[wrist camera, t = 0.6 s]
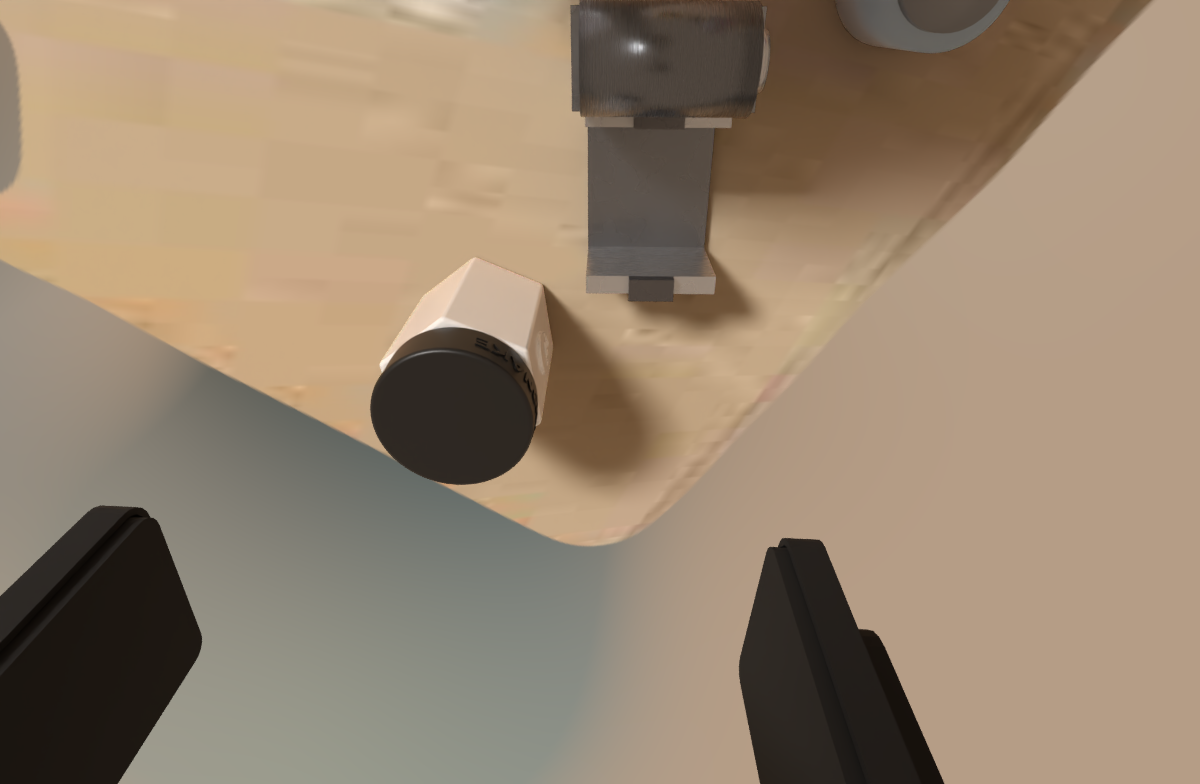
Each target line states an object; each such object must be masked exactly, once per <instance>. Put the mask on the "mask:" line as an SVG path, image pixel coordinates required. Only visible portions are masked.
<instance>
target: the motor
mask: <svg viewBox="0 0 1200 784" xmlns="http://www.w3.org/2000/svg"><path fill="white" fill-rule="evenodd" d="M766 11H767V6H762V5H761V3H760V1H731V0H580V5H571V66H572V111H580V114H581V117H585V127H588V258H587V271H586V293H628V301H666V302H673V294H714V292H715V283H716V275H715V273H714V271H713V268H712V266H711V263H710V261H709V258H708V256H707V253H706V251H705V249H704V243H705V232H706V221H707V209H708V198H709V187H710V176H711V165H712V154H713V143H714V131H715V128H731V126H732V118H748V117H749V115H750V114H751V113H755V105H756V96H757V93H761V92H762V90H763V88H764V86H765V82H766V78H767V74H768V68H769V60H770V34H769V31H768V29H764V28H765V20H766Z"/></svg>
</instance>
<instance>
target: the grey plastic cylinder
mask: <svg viewBox="0 0 1200 784" xmlns="http://www.w3.org/2000/svg"><path fill="white" fill-rule="evenodd" d="M835 2H836V8H837V12H838V15H839V17H840V20H841V22H842V23H843V25H844V27H845V28H846V29H847V31H848V32H849V33H850V34H851V35H852V36H853V37H854V38H856V39H857V40H859V41H860V42H863V43H865V44H867V45H871V46H876V47H883V48H891V49H898V50H906V51H913V52H921V53H941V52H946V51H950V50H953V49H956V48H959V47H961V46H963V45H965V44H967V43H969V42H970V41H972V40H973V39H975V38H976V37H978V36H979V35H980V34H981V33H983V32H984V31H985V30H986V29H987V28H988V27H989V26H990V25H991V24H992V23H993V22H994V21H995V20H996V19H997V18H998V16H999V15H1000V14H1001V12H1002V11H1003V10H1004V8H1005V7H1006V5H1007V4H1008V2H1009V0H835Z"/></svg>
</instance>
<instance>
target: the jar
mask: <svg viewBox="0 0 1200 784" xmlns="http://www.w3.org/2000/svg"><path fill="white" fill-rule="evenodd" d="M552 352H553V342H552V336H551V330H550V324H549V318H548V312H547V306H546V300H545V294H544V288H543V285H542V284H541V283H538V282H536V281H533V280H531V279H528V278H526V277H523V276H521V275H519V274H516V273H514V272H511V271H509V270H506V269H504V268H501V267H499V266H497V265H494V264H492V263H489V262H487V261H484V260H482V259H479V258H477V257H474V258H472V259H471V260H469V261H468V262H467V263H465V264H464V265H463V266H462V267H460V268H459V269H458V270H456V271H455V272H454V273H452V274H451V275H450V276H449V277H447V278H446V279H445V280H443V281H442V282H441V283H439V284H438V285H437V286H436V287H434V288H433V289H432V290H430V291H429V292H428V293H426V294H425V295H424V296H423V297H422V298H421V300H420V301H419V303H418V305H417V306H416V308H415V309H414V311H413V312H412V314H411V315H410V317H409V319H408V320H407V322H406V323H405V325H404V326H403V328H402V329H401V331H400V333H399V334H398V336H397V337H396V339H395V340H394V342H393V343H392V345H391V347H390V348H389V350H388V351H387V353H386V354H385V356H384V357H383V359H382V361H381V362H380V368H381V372H382V374H381V376H380V377H379V379H378V380H377V382H376V384H375V387H374V389H373V393H372V397H371V405H370V411H371V419H372V423H373V427H374V430H375V432H376V434H377V436H378V438H379V440H380V442H381V443H382V445H383V446H384V448H385V449H386V450H387V451H388V453H389V454H390V455H391V456H392V457H393V458H394V459H395V460H397V461H398V462H399V463H400V464H401V465H403V466H404V467H405V468H407V469H409V470H410V471H412V472H414V473H416V474H418V475H420V476H422V477H424V478H427V479H430V480H433V481H437V482H441V483H446V484H456V485H466V484H476V483H481V482H485V481H488V480H491V479H494V478H496V477H499V476H501V475H502V474H504V473H506V472H507V471H509V470H510V469H511V468H513V467H514V466H515V465H516V464H517V463H518V462H519V461H520V460H521V458H522V457H523V456H524V454H525V453H526V451H527V449H528V447H529V445H530V443H531V440H532V437H533V433H534V430H535V428H536V426H538V425H539V424H540V423H541V421H542V415H543V409H544V403H545V396H546V390H547V384H548V378H549V371H550V365H551V359H552Z"/></svg>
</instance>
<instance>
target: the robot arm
mask: <svg viewBox="0 0 1200 784" xmlns="http://www.w3.org/2000/svg"><path fill="white" fill-rule="evenodd" d="M201 645H202V636H201V632H200V629H199V627H198V624H197V622H196V619H195V616H194V614H193V611H192V609H191V606H190V604H189V601H188V598H187V596H186V593H185V590H184V588H183V585H182V583H181V580H180V577H179V575H178V572H177V569H176V567H175V565H174V562H173V559H172V556H171V554H170V551H169V549H168V546H167V544H166V541H165V538H164V536H163V533H162V531H161V528H160V525H159V524H158V522H157V520H155V519H154V518H150V516H149V514H148V513H147V511H146V510H144V509H143V508H138V507H119V506H98V507H95V508H93V509H91V510H90V511H89V512H87V513H86V514H85V515H84V516H83V517H82V518H81V519H80V520H79V521H78V522H77V523H76V524H75V525H74V526H73V527H72V528H71V529H70V530H69V531H68V532H66V533H65V534H64V535H63V536H62V537H61V538H60V539H59V540H58V541H57V542H56V543H55V544H54V545H53V546H52V547H51V548H50V549H49V550H48V551H47V552H46V553H45V554H44V555H43V556H42V557H41V558H40V559H38V560H37V561H36V562H35V563H34V564H33V565H32V566H31V567H30V568H29V569H28V570H27V571H26V572H25V573H24V574H23V575H22V576H21V577H20V578H19V579H18V580H17V581H16V582H15V583H14V584H13V585H12V586H10V587H9V588H8V589H7V590H6V591H5V592H4V593H3V594H2V595H1V596H0V784H118V782H119V781H120V779H121V778H122V776H123V774H124V773H125V771H126V770H127V768H128V767H129V765H130V764H131V762H132V760H133V759H134V757H135V756H136V754H137V753H138V751H139V749H140V748H141V746H142V745H143V743H144V741H145V740H146V738H147V737H148V735H149V733H150V732H151V730H152V729H153V727H154V726H155V724H156V722H157V721H158V719H159V718H160V716H161V715H162V713H163V712H164V710H165V708H166V707H167V705H168V704H169V702H170V700H171V699H172V697H173V696H174V694H175V693H176V691H177V689H178V688H179V686H180V685H181V683H182V681H183V680H184V678H185V677H186V675H187V674H188V672H189V670H190V669H191V667H192V666H193V664H194V663H195V661H196V659H197V657H198V655H199V653H200V650H201ZM739 677H740V684H741V689H742V694H743V699H744V704H745V709H746V715H747V719H748V725H749V730H750V735H751V740H752V745H753V750H754V755H755V760H756V765H757V770H758V775H759V780H760V784H944V782H943V779H942V777H941V775H940V773H939V770H938V768H937V766H936V763H935V761H934V759H933V757H932V754H931V752H930V750H929V747H928V745H927V743H926V741H925V738H924V736H923V734H922V731H921V729H920V727H919V725H918V722H917V720H916V718H915V715H914V713H913V711H912V708H911V706H910V704H909V702H908V699H907V697H906V695H905V693H904V690H903V688H902V686H901V683H900V681H899V679H898V676H897V674H896V672H895V670H894V667H893V665H892V663H891V660H890V658H889V656H888V654H887V651H886V649H885V647H884V645H883V643H882V641H881V640H880V638H879V636H877V634H875V633H874V631H871V630H863V629H858V627H857V625H856V622H855V620H854V617H853V615H852V613H851V610H850V607H849V605H848V602H847V600H846V598H845V595H844V593H843V590H842V588H841V585H840V583H839V581H838V578H837V576H836V573H835V571H834V568H833V566H832V563H831V561H830V558H829V556H828V554H827V551H826V548H825V546H824V545H823V543H822V542H821V541H820V540H813V539H791V538H782V539H781V541H780V543H779V545H778V547H769V548H768V550H767V552H766V556H765V561H764V564H763V568H762V572H761V576H760V580H759V584H758V588H757V592H756V596H755V600H754V604H753V608H752V612H751V616H750V620H749V624H748V628H747V632H746V636H745V640H744V644H743V648H742V652H741V656H740V662H739Z"/></svg>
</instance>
